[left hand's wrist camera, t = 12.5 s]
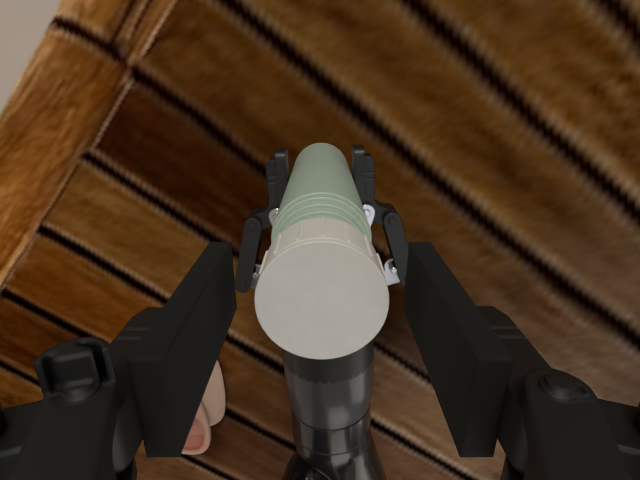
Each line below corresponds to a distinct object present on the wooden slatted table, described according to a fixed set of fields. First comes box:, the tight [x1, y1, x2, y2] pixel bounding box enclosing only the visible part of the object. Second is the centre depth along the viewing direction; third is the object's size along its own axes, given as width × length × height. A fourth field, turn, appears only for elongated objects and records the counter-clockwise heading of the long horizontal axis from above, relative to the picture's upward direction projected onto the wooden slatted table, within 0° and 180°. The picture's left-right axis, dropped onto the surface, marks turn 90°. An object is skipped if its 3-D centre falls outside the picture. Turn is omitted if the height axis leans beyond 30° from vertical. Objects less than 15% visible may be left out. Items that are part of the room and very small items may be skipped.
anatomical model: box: [181, 360, 226, 455], centre depth 39 cm, size 13×4×12 cm
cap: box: [254, 217, 389, 359], centre depth 14 cm, size 4×4×2 cm
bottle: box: [271, 143, 372, 244], centre depth 23 cm, size 5×5×22 cm
